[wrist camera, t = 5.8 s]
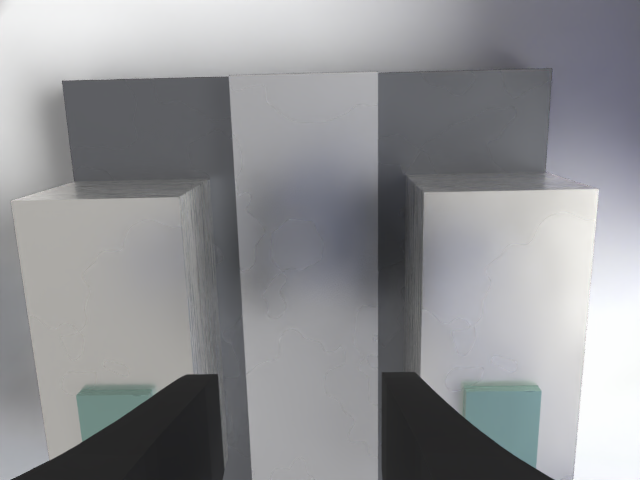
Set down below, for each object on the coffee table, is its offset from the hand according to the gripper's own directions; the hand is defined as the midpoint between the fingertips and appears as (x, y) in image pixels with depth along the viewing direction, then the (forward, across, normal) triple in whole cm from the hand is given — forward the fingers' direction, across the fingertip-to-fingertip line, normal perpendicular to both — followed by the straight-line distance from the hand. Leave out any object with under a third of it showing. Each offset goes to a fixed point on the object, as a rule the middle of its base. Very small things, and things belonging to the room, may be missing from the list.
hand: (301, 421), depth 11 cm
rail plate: (+6, 0, 0) cm, 6 cm away
